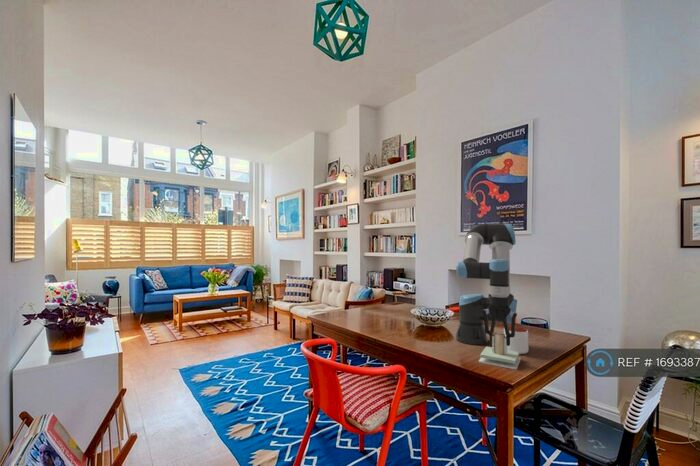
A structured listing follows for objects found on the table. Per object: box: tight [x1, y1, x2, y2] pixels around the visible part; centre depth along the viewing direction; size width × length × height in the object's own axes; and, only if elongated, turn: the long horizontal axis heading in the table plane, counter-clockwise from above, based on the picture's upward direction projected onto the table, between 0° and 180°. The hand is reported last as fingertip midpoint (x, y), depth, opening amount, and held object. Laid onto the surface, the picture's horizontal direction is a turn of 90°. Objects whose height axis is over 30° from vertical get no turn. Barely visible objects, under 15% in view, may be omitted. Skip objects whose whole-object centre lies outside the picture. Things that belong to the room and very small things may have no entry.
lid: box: [479, 332, 520, 364], centre depth 136 cm, size 13×13×9 cm
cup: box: [503, 326, 529, 355], centre depth 149 cm, size 10×10×10 cm
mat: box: [478, 357, 522, 371], centre depth 136 cm, size 14×14×1 cm
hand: (499, 352), depth 136 cm, fingers closed on lid, 4 cm apart
